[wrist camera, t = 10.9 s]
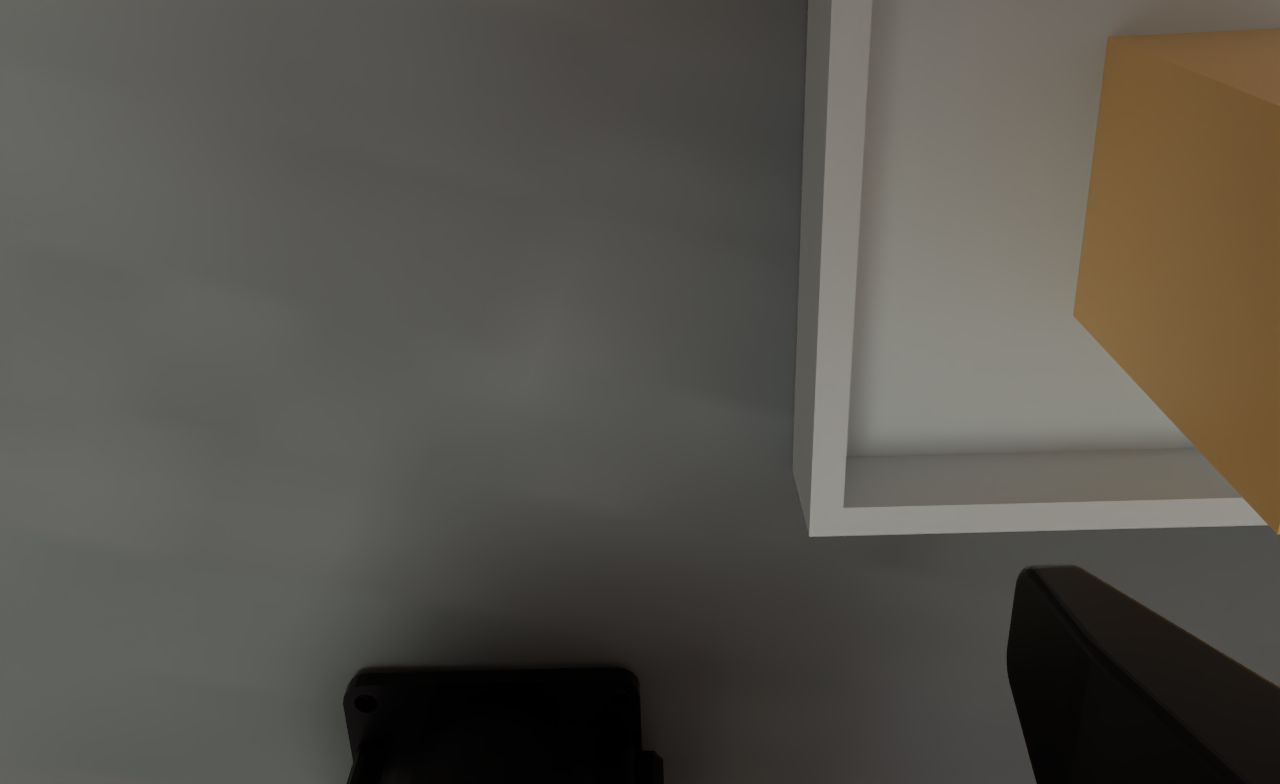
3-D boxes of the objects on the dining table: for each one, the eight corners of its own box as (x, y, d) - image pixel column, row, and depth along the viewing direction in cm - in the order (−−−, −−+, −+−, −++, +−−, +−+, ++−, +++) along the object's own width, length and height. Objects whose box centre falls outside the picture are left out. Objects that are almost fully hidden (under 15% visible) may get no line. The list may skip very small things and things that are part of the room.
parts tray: (792, 469, 23) (809, 536, 21) (814, -191, 18) (839, -196, 16) (1434, 453, 23) (1520, 518, 21) (1639, -217, 18) (1782, -225, 16)
